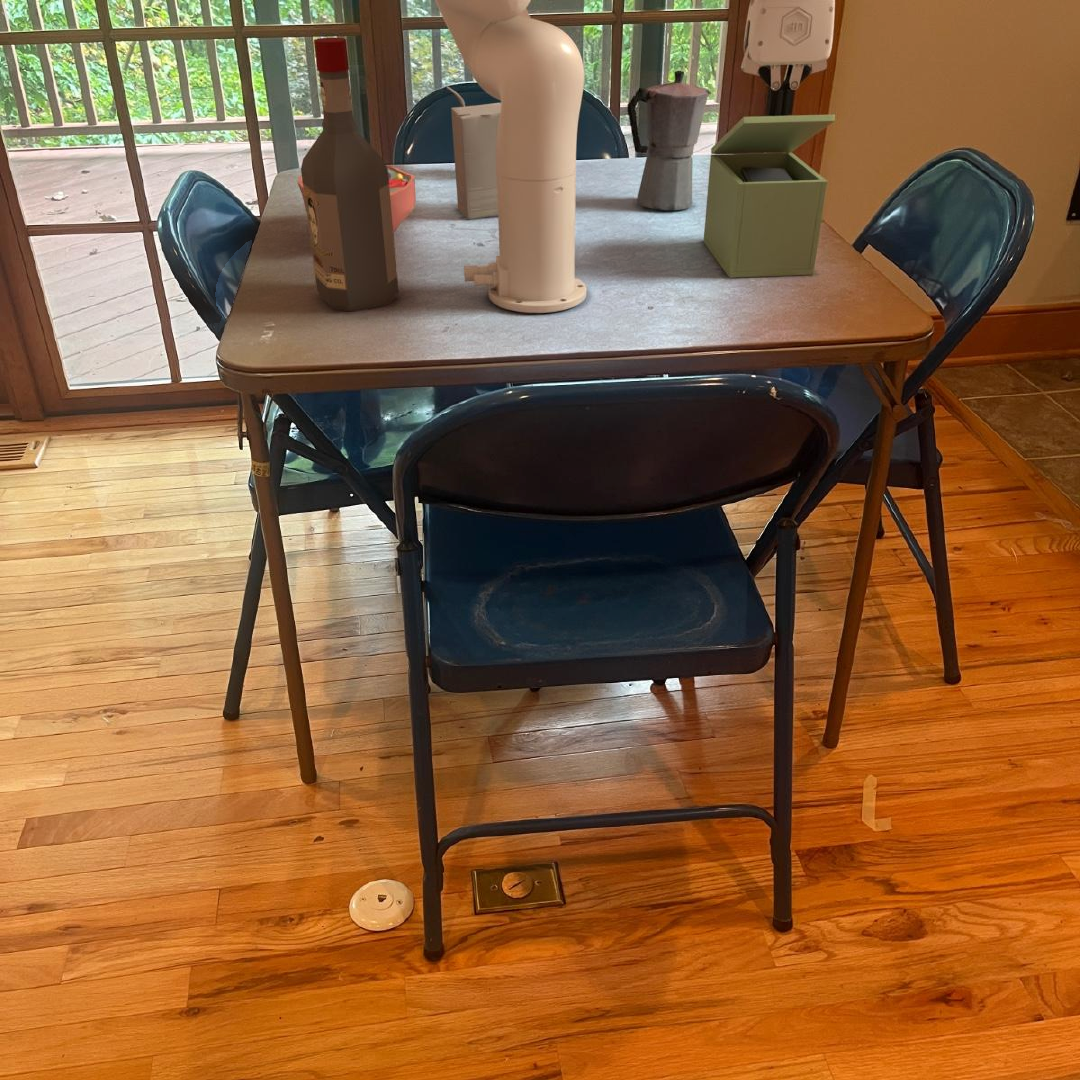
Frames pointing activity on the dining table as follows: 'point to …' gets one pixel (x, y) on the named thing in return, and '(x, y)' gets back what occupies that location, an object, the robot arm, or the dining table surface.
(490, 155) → the cosmetic box
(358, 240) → the liquor
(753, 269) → the chest
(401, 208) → the cell model
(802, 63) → the robot arm
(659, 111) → the moka pot
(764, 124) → the lid
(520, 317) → the dining table surface
